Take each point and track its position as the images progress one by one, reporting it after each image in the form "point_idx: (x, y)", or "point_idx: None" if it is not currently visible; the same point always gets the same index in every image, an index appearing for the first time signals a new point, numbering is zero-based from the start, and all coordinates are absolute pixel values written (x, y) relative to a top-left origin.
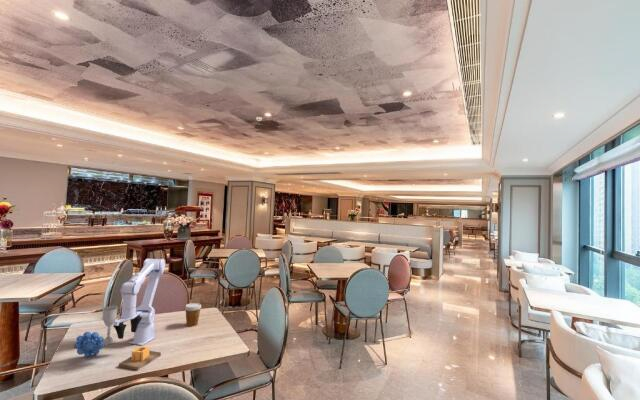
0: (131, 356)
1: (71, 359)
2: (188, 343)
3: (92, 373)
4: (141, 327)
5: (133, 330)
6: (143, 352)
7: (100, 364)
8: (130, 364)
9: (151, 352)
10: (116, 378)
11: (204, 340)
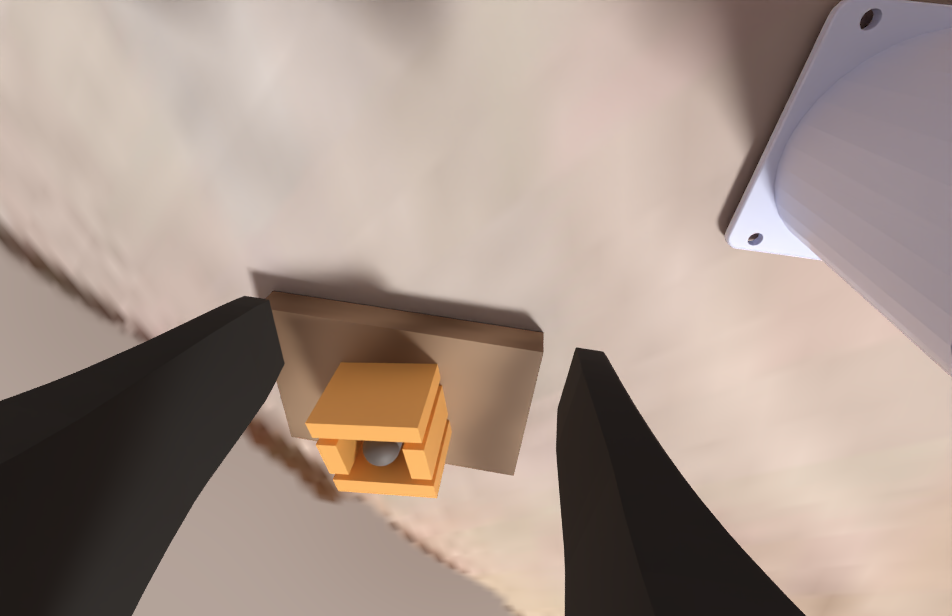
0: (394, 329)
1: None
2: None
3: (93, 150)
4: (947, 349)
5: (567, 414)
6: (346, 485)
7: (218, 85)
8: (292, 386)
9: (500, 428)
10: None
11: None
